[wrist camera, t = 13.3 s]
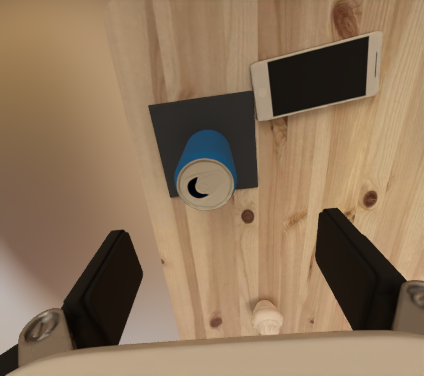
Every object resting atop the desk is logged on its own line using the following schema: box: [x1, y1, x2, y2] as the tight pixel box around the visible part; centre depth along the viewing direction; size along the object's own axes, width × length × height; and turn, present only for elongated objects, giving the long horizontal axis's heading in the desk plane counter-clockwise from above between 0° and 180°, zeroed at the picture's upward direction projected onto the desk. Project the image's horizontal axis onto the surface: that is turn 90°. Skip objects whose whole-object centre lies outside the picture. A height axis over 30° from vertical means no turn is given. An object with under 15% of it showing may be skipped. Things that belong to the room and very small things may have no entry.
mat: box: [148, 91, 258, 197], centre depth 33 cm, size 14×14×1 cm
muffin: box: [252, 300, 283, 335], centre depth 45 cm, size 6×6×7 cm
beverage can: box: [174, 130, 237, 211], centre depth 28 cm, size 6×6×12 cm
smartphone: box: [250, 31, 383, 121], centre depth 29 cm, size 7×16×1 cm, turn 103°
